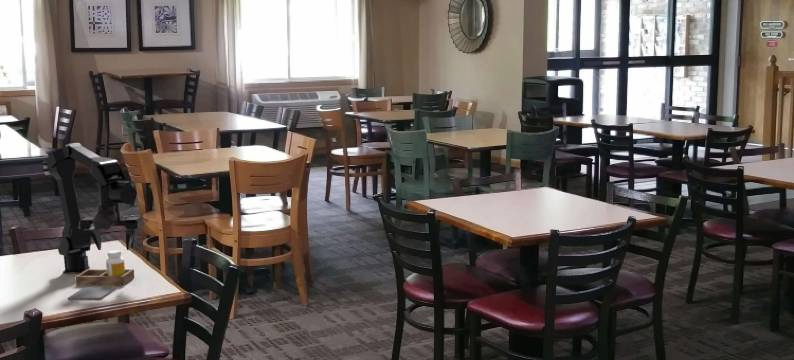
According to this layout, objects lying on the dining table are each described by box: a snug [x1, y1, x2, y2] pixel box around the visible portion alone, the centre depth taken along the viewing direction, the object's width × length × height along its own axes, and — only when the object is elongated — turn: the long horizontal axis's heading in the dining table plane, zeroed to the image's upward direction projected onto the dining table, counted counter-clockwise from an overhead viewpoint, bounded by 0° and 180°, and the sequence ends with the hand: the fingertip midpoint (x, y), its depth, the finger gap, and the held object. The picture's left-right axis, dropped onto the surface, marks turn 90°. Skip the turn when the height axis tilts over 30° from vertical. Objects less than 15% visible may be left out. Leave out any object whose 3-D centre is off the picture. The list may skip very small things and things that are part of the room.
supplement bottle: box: [105, 249, 126, 276], centre depth 269 cm, size 5×5×10 cm
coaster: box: [67, 286, 116, 301], centre depth 258 cm, size 10×10×1 cm
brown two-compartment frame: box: [75, 268, 135, 286], centre depth 270 cm, size 15×8×3 cm, turn 84°
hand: (113, 249), depth 268 cm, fingers open, 9 cm apart
